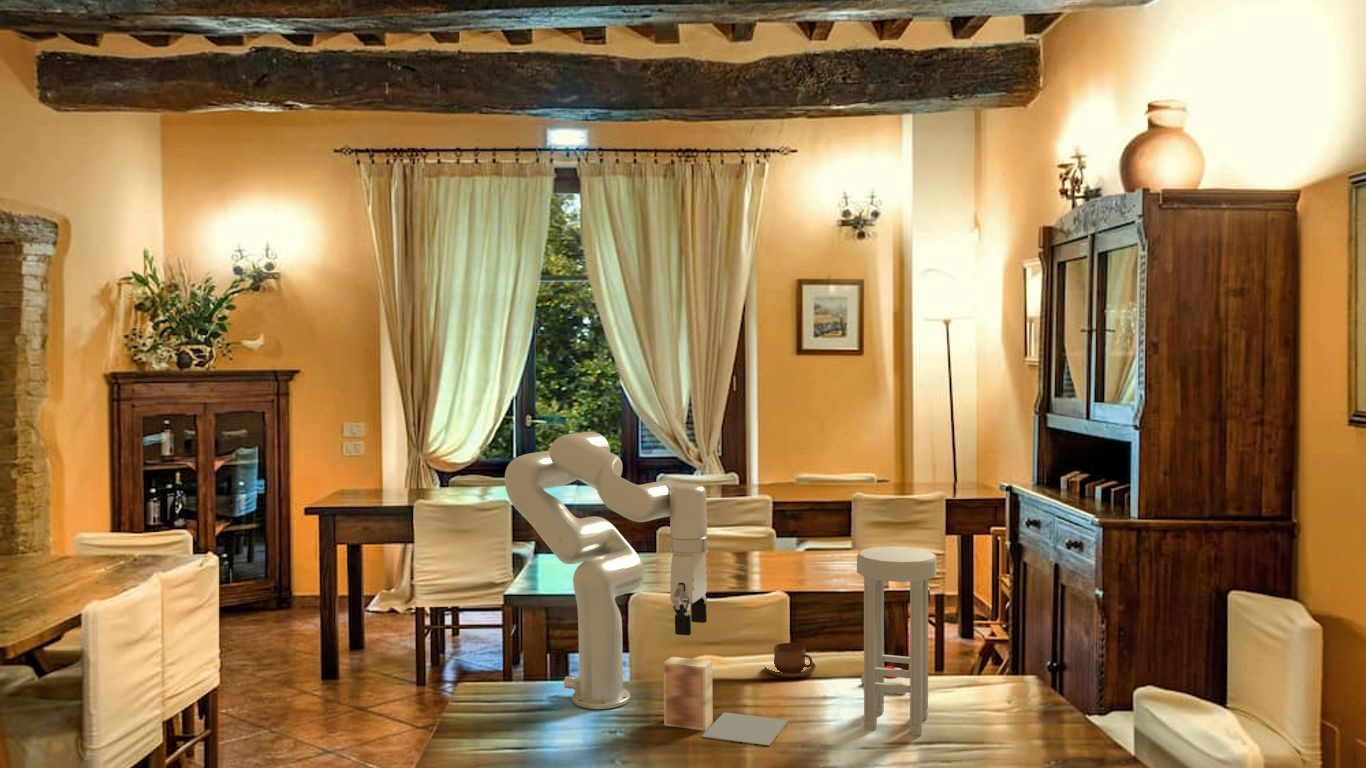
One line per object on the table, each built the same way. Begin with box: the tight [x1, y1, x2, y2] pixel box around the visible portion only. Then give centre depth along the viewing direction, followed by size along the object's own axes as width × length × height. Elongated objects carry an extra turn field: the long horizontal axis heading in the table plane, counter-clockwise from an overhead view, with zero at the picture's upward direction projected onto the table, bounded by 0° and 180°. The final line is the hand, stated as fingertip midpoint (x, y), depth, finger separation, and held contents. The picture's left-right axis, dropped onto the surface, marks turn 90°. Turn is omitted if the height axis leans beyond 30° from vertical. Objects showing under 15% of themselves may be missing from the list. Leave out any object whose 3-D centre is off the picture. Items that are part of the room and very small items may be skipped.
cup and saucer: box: [764, 642, 816, 678], centre depth 253 cm, size 12×12×6 cm
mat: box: [701, 712, 789, 746], centre depth 217 cm, size 14×14×1 cm
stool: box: [856, 545, 937, 736], centre depth 219 cm, size 16×16×35 cm
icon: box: [860, 665, 908, 695], centre depth 243 cm, size 12×4×10 cm
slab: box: [663, 656, 714, 732], centre depth 220 cm, size 9×4×13 cm, turn 69°
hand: (691, 628), depth 220 cm, fingers open, 9 cm apart
